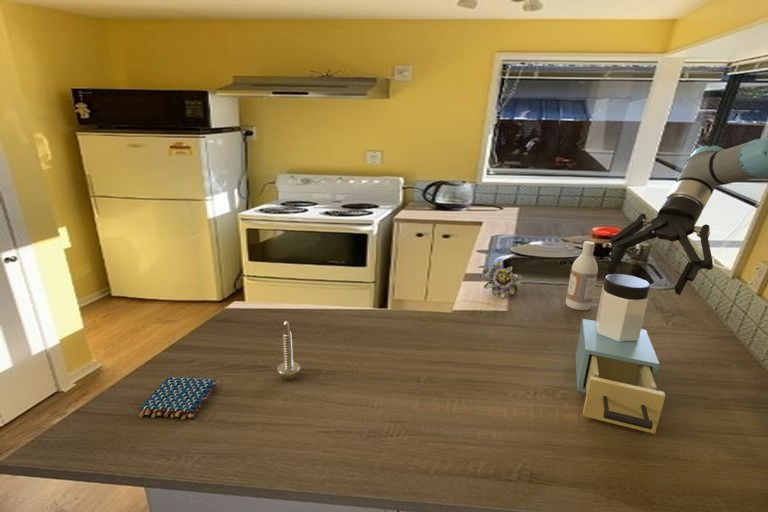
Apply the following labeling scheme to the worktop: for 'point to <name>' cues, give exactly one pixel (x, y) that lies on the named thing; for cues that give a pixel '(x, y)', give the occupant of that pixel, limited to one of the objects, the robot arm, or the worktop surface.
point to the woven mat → (178, 397)
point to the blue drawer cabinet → (611, 351)
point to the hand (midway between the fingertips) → (641, 281)
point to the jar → (622, 307)
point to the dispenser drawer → (622, 394)
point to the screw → (288, 356)
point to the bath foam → (582, 279)
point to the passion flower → (501, 280)
